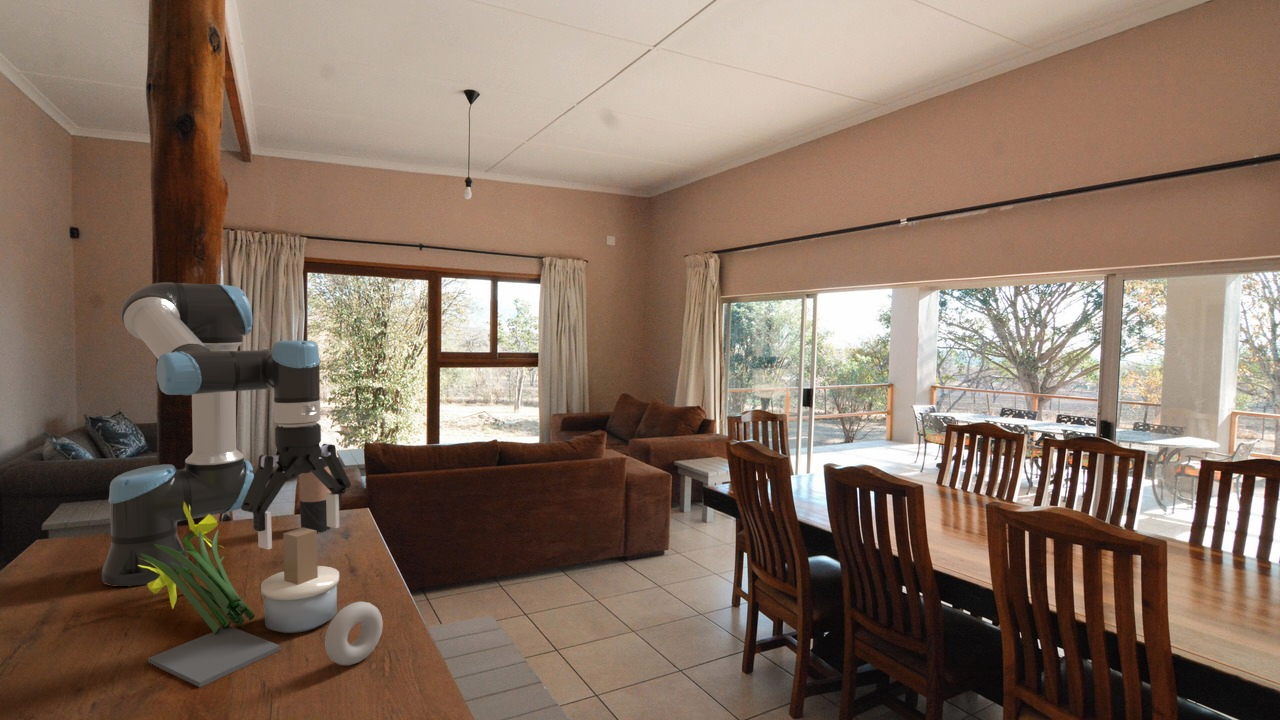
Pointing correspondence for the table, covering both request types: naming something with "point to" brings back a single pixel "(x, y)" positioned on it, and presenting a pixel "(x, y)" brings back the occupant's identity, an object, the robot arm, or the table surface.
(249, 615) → the daffodil flowers
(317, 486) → the travel mug
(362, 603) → the donut
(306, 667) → the table surface
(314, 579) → the lid
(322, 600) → the light blue short cylinder
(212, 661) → the mat
